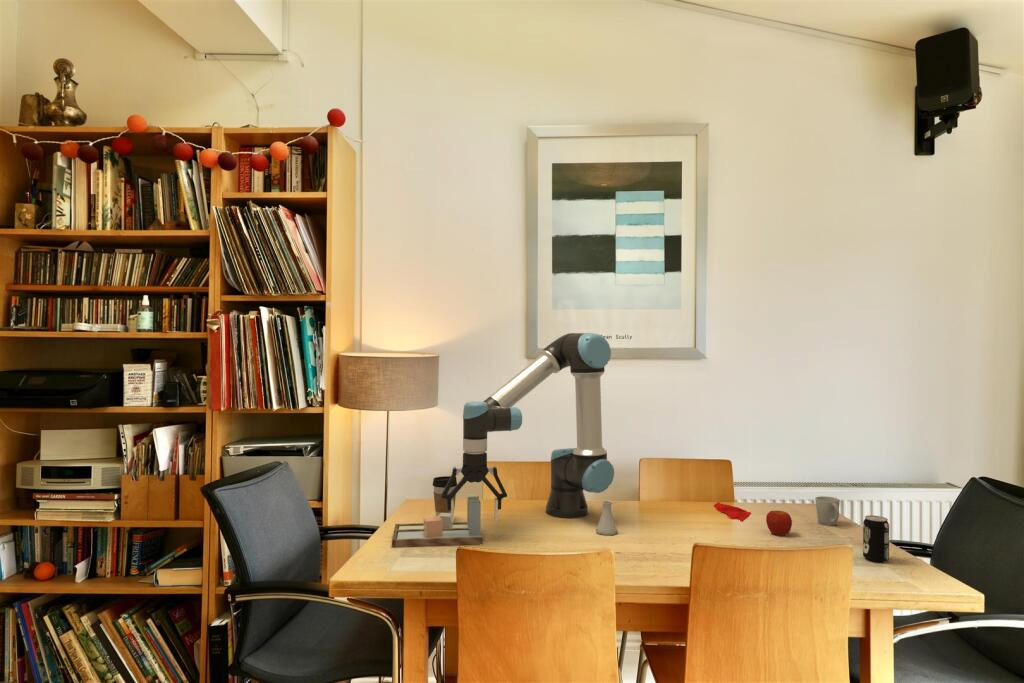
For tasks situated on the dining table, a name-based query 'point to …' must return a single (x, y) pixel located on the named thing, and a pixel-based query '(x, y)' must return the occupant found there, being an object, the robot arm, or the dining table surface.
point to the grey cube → (446, 520)
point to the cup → (827, 510)
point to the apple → (779, 522)
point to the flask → (606, 521)
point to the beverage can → (876, 539)
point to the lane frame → (433, 541)
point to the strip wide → (472, 532)
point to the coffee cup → (439, 487)
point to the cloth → (732, 511)
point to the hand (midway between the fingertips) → (474, 520)
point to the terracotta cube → (433, 527)
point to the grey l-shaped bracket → (469, 497)
